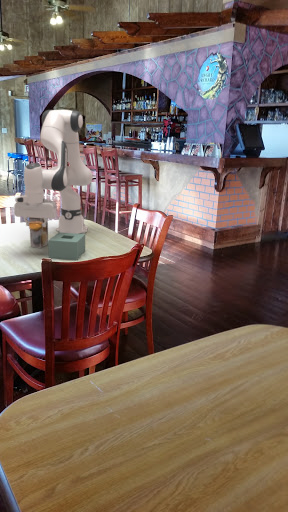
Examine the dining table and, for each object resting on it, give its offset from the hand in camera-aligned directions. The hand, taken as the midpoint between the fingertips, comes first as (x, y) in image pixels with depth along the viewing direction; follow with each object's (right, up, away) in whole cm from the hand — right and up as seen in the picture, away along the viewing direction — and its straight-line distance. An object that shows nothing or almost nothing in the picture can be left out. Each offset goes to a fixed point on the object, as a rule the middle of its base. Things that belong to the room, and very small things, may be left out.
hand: (36, 226), depth 205 cm
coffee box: (-3, -9, +19) cm, 21 cm away
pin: (0, -8, +3) cm, 9 cm away
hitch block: (+15, -14, +5) cm, 21 cm away
